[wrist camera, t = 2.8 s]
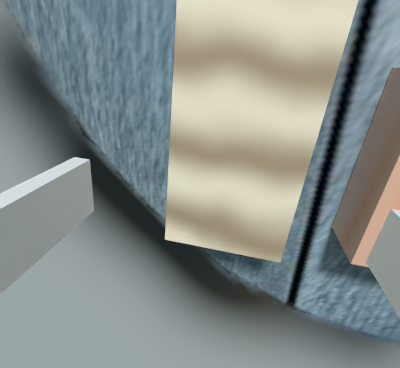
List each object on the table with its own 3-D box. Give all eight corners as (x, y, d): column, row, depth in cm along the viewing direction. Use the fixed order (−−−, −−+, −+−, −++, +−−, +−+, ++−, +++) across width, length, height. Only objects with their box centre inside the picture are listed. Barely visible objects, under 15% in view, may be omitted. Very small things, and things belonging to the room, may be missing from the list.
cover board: (186, -3, 19) (177, -13, 16) (344, 9, 17) (358, 0, 15) (172, 225, 27) (164, 239, 25) (277, 245, 26) (280, 262, 23)
